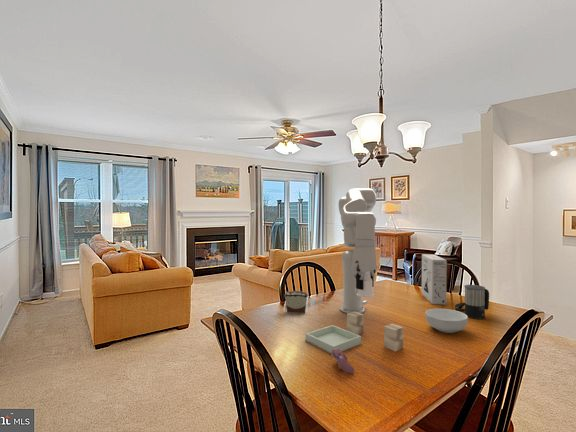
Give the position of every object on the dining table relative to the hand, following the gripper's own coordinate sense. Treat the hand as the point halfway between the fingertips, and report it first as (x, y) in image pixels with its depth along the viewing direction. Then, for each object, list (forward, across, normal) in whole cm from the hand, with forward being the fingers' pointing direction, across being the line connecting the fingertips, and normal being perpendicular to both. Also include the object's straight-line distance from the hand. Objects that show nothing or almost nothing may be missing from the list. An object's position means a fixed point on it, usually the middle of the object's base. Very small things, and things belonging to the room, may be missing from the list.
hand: (364, 287), depth 129 cm
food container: (+22, -2, -45) cm, 50 cm away
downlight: (+3, 0, 0) cm, 3 cm away
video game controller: (+22, +24, +9) cm, 34 cm away
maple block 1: (+22, -3, -8) cm, 23 cm away
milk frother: (+22, -68, +13) cm, 72 cm away
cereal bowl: (+22, -37, +16) cm, 46 cm away
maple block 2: (+21, -3, +11) cm, 24 cm away
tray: (+21, +12, -6) cm, 25 cm away
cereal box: (+22, -80, -11) cm, 83 cm away
